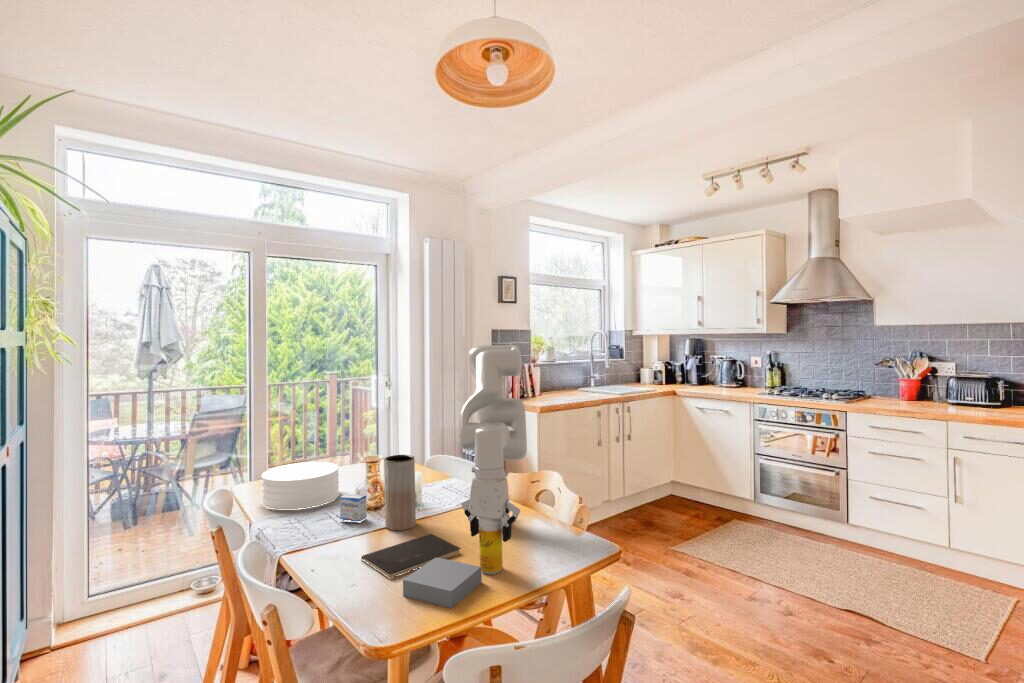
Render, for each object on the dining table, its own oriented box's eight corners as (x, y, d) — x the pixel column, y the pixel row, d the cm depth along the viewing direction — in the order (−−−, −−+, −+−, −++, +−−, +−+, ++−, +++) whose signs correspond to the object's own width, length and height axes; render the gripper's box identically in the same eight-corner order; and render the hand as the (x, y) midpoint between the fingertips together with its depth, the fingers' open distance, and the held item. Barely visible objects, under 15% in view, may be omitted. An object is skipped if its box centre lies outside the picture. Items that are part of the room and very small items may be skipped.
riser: (436, 572, 140) (435, 557, 140) (481, 582, 134) (481, 566, 134) (403, 595, 128) (402, 579, 127) (451, 608, 121) (451, 591, 121)
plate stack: (262, 495, 213) (262, 467, 213) (334, 485, 225) (334, 459, 225) (261, 516, 188) (261, 484, 188) (343, 504, 200) (342, 474, 199)
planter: (393, 533, 168) (392, 463, 168) (380, 525, 176) (378, 457, 176) (421, 525, 175) (419, 457, 174) (406, 518, 182) (405, 453, 182)
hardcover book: (460, 555, 152) (460, 547, 152) (389, 582, 136) (389, 573, 136) (430, 540, 163) (429, 532, 163) (361, 563, 148) (361, 554, 148)
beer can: (477, 567, 142) (476, 512, 142) (498, 563, 144) (497, 509, 144) (484, 577, 137) (482, 520, 136) (505, 573, 139) (504, 516, 139)
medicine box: (339, 522, 179) (339, 497, 179) (346, 517, 184) (346, 493, 184) (360, 524, 178) (359, 498, 177) (367, 519, 182) (366, 494, 182)
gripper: (454, 473, 141) (455, 537, 140) (512, 479, 133) (513, 547, 133) (469, 467, 147) (470, 528, 147) (524, 473, 140) (525, 537, 139)
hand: (490, 537), depth 140 cm, fingers open, 9 cm apart
